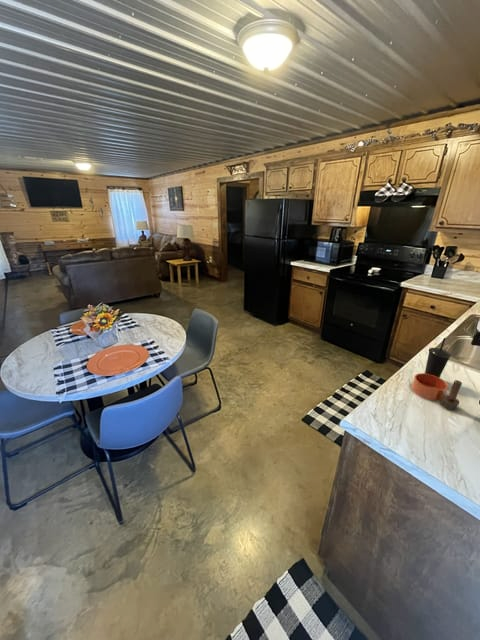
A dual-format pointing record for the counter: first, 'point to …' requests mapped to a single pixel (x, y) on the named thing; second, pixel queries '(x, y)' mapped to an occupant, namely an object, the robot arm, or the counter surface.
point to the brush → (452, 397)
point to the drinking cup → (437, 360)
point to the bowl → (429, 386)
